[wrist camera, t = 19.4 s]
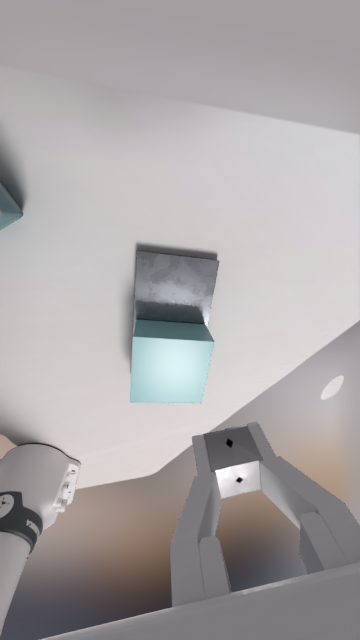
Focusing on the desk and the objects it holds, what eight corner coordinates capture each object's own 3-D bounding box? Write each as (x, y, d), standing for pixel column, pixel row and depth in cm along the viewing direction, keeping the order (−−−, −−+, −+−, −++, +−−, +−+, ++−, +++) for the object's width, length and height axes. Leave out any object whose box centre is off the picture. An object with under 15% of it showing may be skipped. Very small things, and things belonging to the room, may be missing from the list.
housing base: (195, 378, 44) (201, 398, 39) (132, 375, 42) (128, 397, 37) (217, 259, 35) (228, 265, 30) (137, 250, 34) (133, 254, 28)
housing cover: (195, 379, 42) (201, 403, 36) (133, 377, 41) (129, 402, 35) (205, 324, 38) (214, 341, 32) (136, 319, 36) (132, 336, 30)
